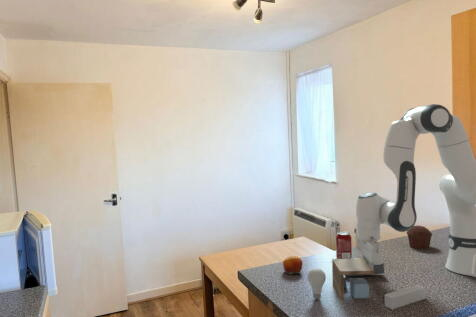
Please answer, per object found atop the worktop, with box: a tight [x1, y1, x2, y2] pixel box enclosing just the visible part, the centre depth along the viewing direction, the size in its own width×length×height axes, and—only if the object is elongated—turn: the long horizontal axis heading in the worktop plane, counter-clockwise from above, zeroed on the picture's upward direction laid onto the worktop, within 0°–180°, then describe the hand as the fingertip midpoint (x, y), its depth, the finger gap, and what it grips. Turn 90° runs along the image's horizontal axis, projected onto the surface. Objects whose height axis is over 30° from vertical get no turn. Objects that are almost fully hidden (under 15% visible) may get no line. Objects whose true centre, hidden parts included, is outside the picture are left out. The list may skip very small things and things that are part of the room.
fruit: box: [282, 255, 303, 276], centre depth 149 cm, size 8×8×8 cm
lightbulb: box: [307, 267, 327, 301], centre depth 124 cm, size 6×6×11 cm
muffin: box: [406, 225, 433, 250], centre depth 177 cm, size 12×11×10 cm
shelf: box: [331, 258, 376, 301], centre depth 128 cm, size 12×12×10 cm
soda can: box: [335, 230, 353, 259], centre depth 163 cm, size 7×7×12 cm
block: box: [349, 278, 370, 299], centre depth 126 cm, size 5×5×5 cm
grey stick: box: [384, 284, 427, 310], centre depth 120 cm, size 16×3×4 cm, turn 116°
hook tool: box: [344, 261, 385, 289], centre depth 139 cm, size 19×13×4 cm
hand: (368, 267), depth 143 cm, fingers closed on hook tool, 3 cm apart
